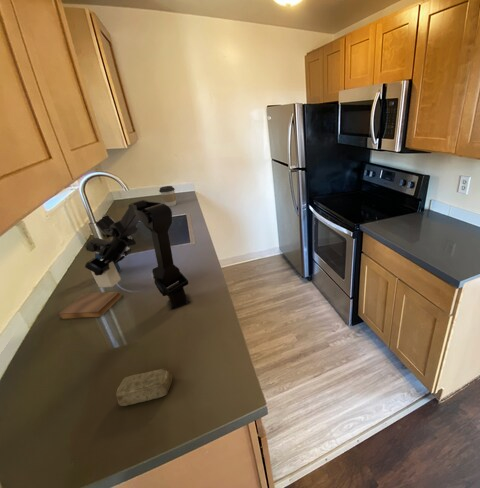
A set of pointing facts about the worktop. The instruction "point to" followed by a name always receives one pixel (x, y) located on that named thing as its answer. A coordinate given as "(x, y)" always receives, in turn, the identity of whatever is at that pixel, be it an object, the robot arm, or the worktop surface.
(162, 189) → the coffee cup
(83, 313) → the wooden base plate
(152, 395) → the stone block
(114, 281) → the cream box
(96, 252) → the soda can
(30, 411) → the worktop surface
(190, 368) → the worktop surface
